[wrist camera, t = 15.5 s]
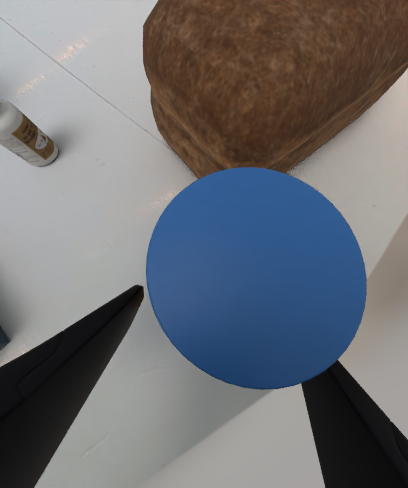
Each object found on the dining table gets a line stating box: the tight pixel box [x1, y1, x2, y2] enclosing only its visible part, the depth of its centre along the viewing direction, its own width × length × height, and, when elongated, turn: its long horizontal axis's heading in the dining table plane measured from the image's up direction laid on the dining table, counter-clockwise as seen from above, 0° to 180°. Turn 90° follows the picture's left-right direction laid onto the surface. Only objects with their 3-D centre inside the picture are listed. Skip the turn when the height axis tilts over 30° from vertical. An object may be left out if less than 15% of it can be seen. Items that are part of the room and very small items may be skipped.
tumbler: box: [146, 167, 366, 390], centre depth 10 cm, size 6×6×13 cm
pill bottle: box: [0, 100, 58, 166], centre depth 18 cm, size 4×4×8 cm
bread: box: [143, 0, 408, 179], centre depth 17 cm, size 17×30×13 cm, turn 129°
